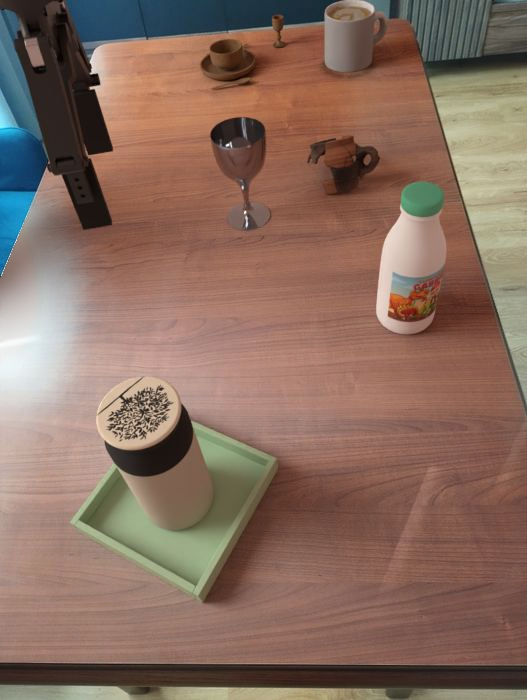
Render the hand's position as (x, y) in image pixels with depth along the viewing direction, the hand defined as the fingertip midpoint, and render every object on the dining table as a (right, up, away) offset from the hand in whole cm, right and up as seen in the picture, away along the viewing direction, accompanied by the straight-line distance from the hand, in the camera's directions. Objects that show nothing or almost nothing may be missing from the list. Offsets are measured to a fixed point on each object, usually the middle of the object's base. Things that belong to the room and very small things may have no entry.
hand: (99, 186), depth 59 cm
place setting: (+13, +45, +68) cm, 82 cm away
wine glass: (+14, +5, +36) cm, 39 cm away
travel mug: (+7, -33, +6) cm, 34 cm away
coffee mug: (+36, +45, +65) cm, 87 cm away
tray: (+7, -33, +6) cm, 35 cm away
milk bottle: (+36, -12, +20) cm, 43 cm away
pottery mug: (+30, +13, +40) cm, 52 cm away
